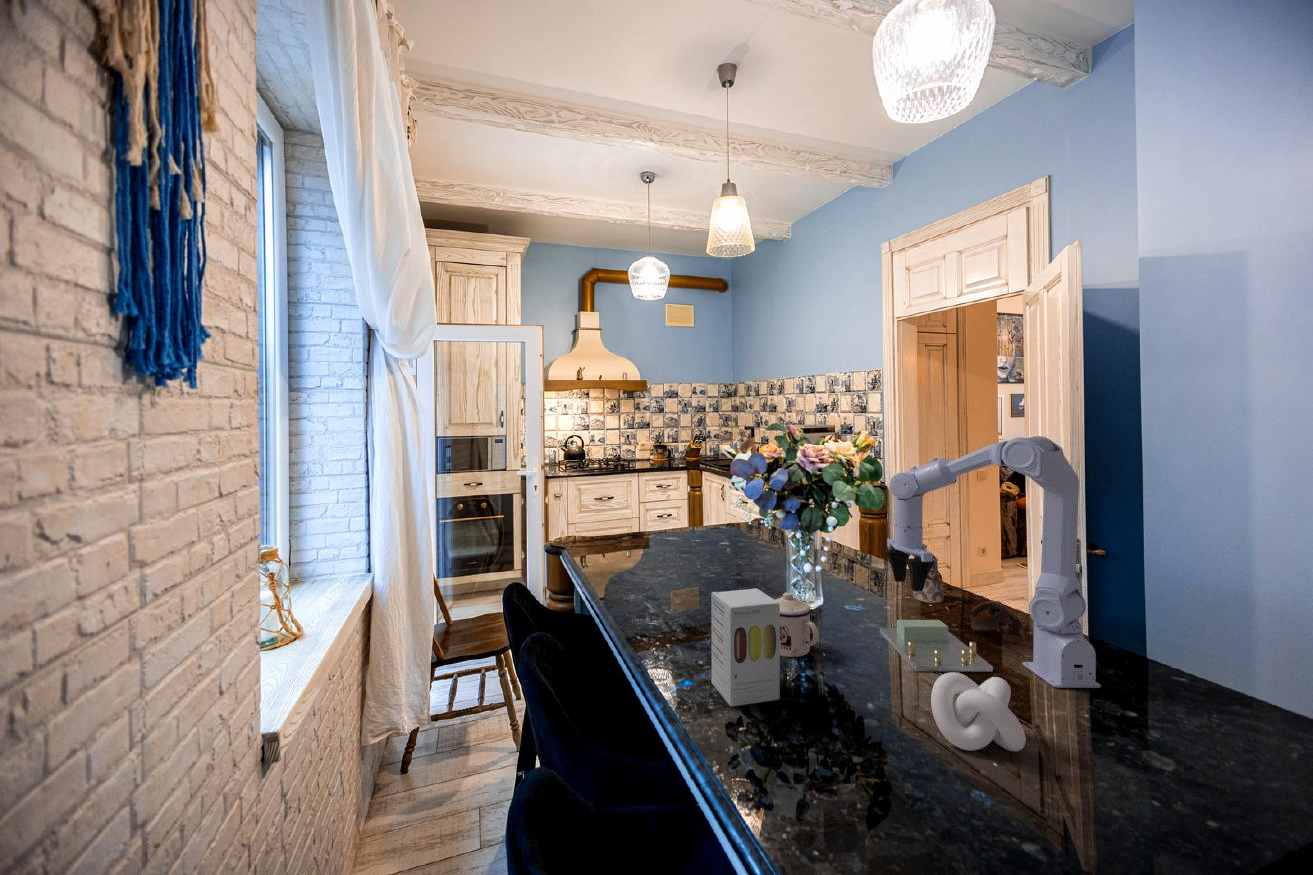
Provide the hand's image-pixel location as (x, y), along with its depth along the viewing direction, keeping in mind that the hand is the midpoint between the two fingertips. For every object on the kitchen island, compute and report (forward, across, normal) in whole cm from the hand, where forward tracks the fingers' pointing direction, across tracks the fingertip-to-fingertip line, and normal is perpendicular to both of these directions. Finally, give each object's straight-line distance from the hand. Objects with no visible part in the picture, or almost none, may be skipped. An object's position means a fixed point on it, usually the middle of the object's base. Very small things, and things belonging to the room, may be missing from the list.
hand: (908, 585), depth 125 cm
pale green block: (+9, -7, +1) cm, 11 cm away
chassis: (+10, -11, +2) cm, 15 cm away
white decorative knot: (+10, -41, +14) cm, 45 cm away
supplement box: (+10, -22, +44) cm, 51 cm away
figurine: (+10, +20, -17) cm, 28 cm away
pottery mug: (+10, -5, -18) cm, 21 cm away
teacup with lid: (+10, -7, +30) cm, 32 cm away
